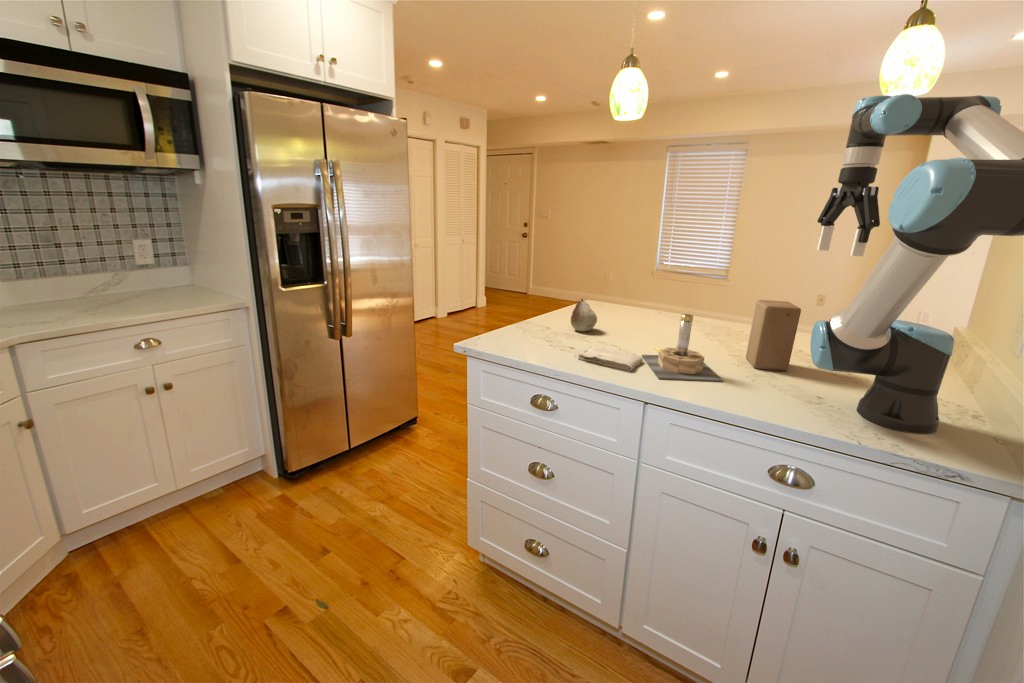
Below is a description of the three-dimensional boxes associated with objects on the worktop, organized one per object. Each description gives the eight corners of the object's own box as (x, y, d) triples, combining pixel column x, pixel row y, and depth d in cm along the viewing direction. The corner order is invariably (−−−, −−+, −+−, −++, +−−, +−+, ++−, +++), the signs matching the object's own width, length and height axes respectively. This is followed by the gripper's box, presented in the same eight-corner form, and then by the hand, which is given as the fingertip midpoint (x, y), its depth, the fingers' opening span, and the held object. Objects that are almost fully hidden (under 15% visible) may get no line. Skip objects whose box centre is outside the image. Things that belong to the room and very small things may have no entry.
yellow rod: (663, 356, 150) (664, 353, 150) (661, 356, 150) (661, 353, 150) (656, 348, 158) (657, 345, 158) (654, 348, 158) (654, 345, 158)
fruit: (582, 325, 184) (585, 296, 180) (601, 331, 177) (604, 300, 173) (565, 329, 177) (567, 299, 174) (583, 335, 171) (586, 303, 167)
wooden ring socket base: (722, 381, 130) (725, 366, 128) (658, 379, 130) (660, 364, 129) (697, 358, 149) (699, 345, 148) (641, 356, 149) (643, 342, 148)
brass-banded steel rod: (686, 368, 138) (694, 316, 133) (675, 368, 138) (683, 316, 133) (683, 364, 141) (691, 314, 136) (672, 364, 141) (679, 313, 136)
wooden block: (788, 372, 139) (803, 308, 133) (753, 369, 141) (766, 305, 135) (777, 361, 148) (790, 301, 143) (744, 358, 150) (755, 298, 144)
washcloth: (591, 351, 154) (591, 343, 153) (643, 363, 144) (644, 354, 144) (575, 361, 144) (576, 351, 143) (630, 374, 135) (631, 364, 134)
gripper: (915, 163, 102) (889, 259, 108) (841, 170, 126) (823, 248, 132) (881, 162, 102) (856, 258, 108) (814, 169, 126) (797, 247, 132)
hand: (838, 253), depth 120 cm, fingers open, 13 cm apart
